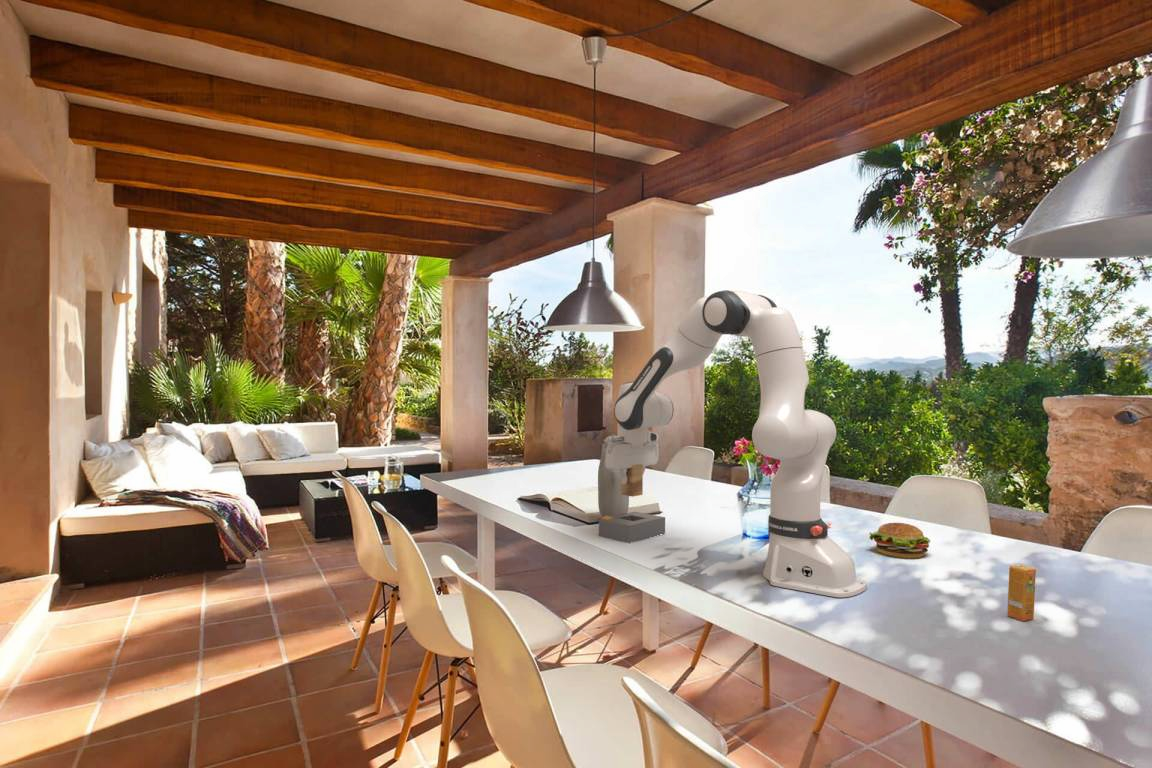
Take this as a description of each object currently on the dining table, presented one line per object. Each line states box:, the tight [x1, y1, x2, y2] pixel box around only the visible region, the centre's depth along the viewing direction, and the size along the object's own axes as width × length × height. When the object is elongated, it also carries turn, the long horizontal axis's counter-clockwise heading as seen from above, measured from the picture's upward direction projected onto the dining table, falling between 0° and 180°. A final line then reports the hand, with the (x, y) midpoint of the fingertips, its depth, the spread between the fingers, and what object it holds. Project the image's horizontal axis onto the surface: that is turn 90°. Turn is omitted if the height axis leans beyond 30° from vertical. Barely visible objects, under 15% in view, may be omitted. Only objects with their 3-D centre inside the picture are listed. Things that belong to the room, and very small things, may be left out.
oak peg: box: [621, 464, 644, 498], centre depth 195 cm, size 4×4×9 cm
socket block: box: [598, 511, 666, 544], centre depth 195 cm, size 12×16×6 cm
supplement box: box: [1007, 563, 1037, 622], centre depth 127 cm, size 3×3×10 cm
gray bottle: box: [597, 434, 630, 518], centre depth 214 cm, size 10×10×28 cm
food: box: [869, 522, 931, 559], centre depth 175 cm, size 14×14×8 cm
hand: (632, 482), depth 195 cm, fingers closed on oak peg, 4 cm apart
